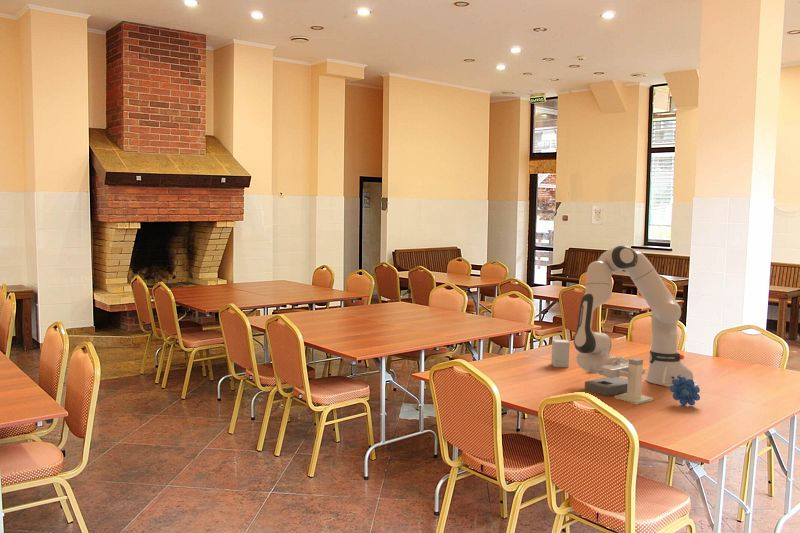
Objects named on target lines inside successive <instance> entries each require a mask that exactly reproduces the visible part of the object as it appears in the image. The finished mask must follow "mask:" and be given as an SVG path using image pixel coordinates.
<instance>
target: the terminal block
mask: <svg viewBox="0 0 800 533" xmlns="http://www.w3.org/2000/svg"><path fill="white" fill-rule="evenodd" d="M627 383H628V378H626V377H625V378H624V377H622V376H620V377H615V378H609V377H606V376H604V377H600V378H595V379H592V380H587V381H584V390H585V391H588V392H592V393H595V394H598V395H603V396H605V397H610V396H615V395H619V394H624V393H627ZM618 393H619V394H618Z"/></svg>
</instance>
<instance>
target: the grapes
mask: <svg viewBox="0 0 800 533" xmlns="http://www.w3.org/2000/svg"><path fill="white" fill-rule="evenodd" d="M672 384H673V385H672V386H670V387H669V391H670V392H671V393H672V398H673V399H674V400H675V401H679V403H680V404H681V405H682V406H687V405H689V406H695V405H696V402H698V401H700V400H701V395H699V393H700V390H701V388H700V387H699V385H698V386H694V384H695V383H694V381H693V380H692V379H688V380H686V378H685V377H683V376H680V377H679V380H678V379H673V380H672Z"/></svg>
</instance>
